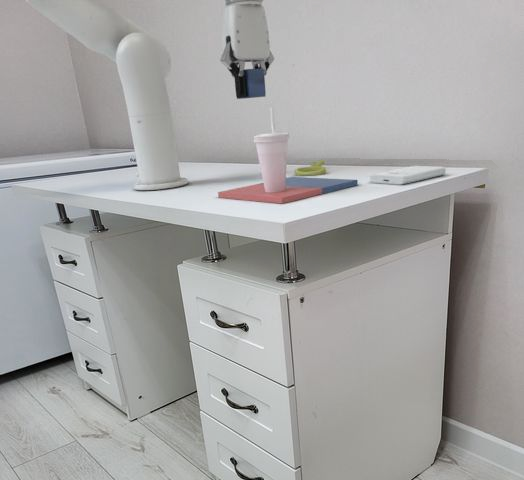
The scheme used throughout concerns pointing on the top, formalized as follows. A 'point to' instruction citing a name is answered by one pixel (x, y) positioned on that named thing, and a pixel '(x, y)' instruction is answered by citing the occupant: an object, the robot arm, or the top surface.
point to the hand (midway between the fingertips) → (251, 95)
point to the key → (311, 169)
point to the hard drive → (407, 175)
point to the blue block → (255, 83)
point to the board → (289, 190)
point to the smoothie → (272, 157)
